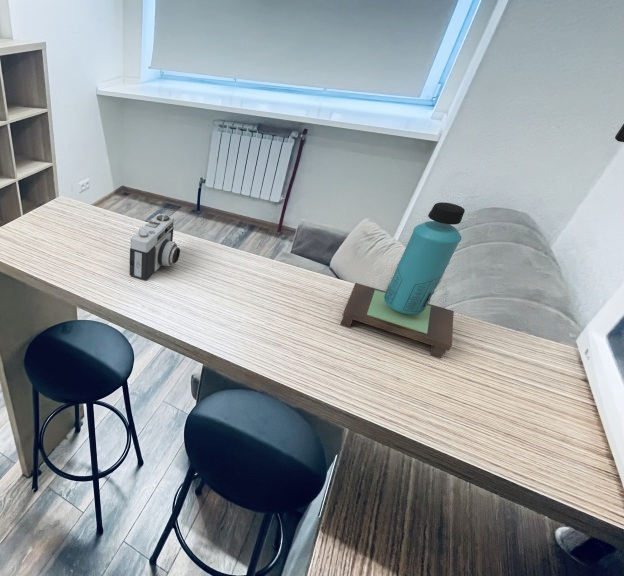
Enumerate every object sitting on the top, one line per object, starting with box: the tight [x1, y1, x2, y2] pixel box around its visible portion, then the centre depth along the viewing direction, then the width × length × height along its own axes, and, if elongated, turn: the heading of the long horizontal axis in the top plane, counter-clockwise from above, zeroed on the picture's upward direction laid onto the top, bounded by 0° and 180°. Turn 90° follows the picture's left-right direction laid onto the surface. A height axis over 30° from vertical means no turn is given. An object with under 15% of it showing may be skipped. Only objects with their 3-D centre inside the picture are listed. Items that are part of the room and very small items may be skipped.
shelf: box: [340, 282, 455, 359], centre depth 74 cm, size 16×11×4 cm
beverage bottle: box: [384, 202, 466, 314], centre depth 67 cm, size 6×7×20 cm
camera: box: [129, 213, 181, 281], centre depth 90 cm, size 14×8×10 cm, turn 149°
